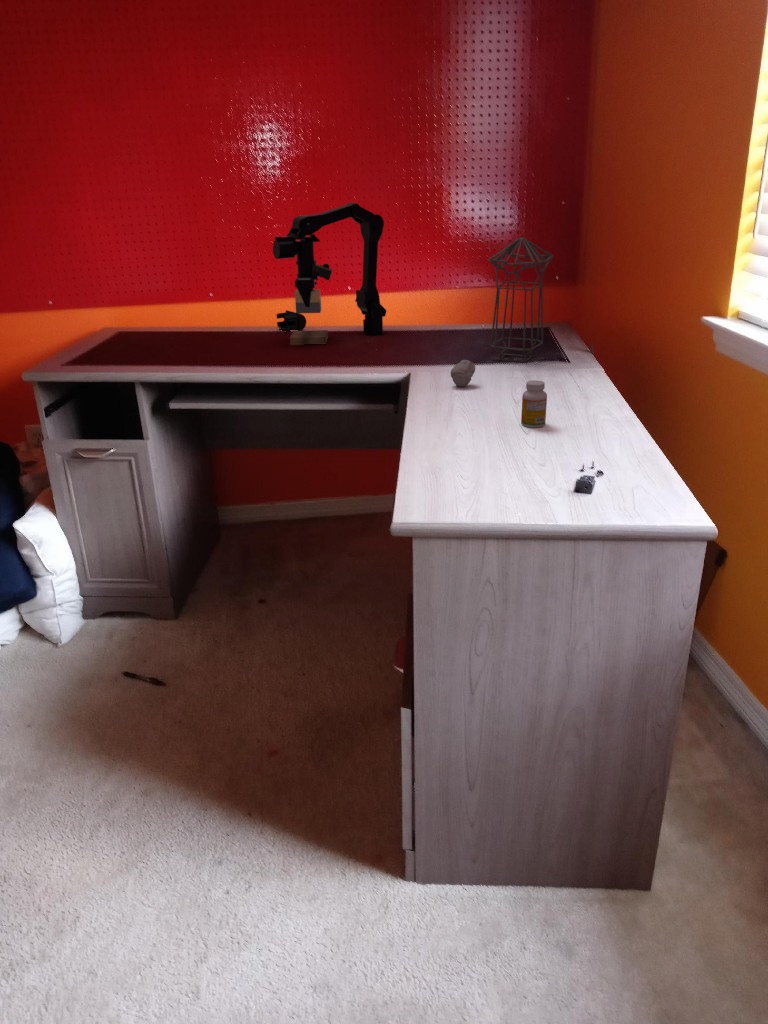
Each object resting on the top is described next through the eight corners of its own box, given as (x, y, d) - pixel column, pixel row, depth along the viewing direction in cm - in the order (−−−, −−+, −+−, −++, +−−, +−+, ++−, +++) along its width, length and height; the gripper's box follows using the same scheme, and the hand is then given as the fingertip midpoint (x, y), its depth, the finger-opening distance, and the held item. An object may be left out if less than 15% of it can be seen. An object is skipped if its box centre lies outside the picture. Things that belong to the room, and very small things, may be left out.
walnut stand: (328, 337, 274) (327, 330, 273) (325, 344, 263) (325, 337, 262) (293, 338, 274) (293, 331, 273) (290, 345, 263) (289, 337, 262)
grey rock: (479, 386, 209) (480, 360, 206) (458, 390, 206) (458, 364, 203) (466, 382, 213) (467, 356, 211) (445, 385, 210) (445, 359, 208)
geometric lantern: (548, 356, 241) (556, 235, 226) (531, 368, 228) (539, 241, 213) (499, 351, 247) (504, 233, 232) (481, 362, 235) (485, 239, 220)
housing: (297, 310, 266) (296, 289, 263) (321, 310, 266) (320, 289, 263) (296, 313, 262) (294, 291, 259) (320, 312, 262) (319, 291, 259)
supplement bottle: (524, 420, 181) (526, 378, 177) (547, 422, 179) (550, 380, 175) (518, 427, 176) (520, 384, 172) (542, 429, 174) (545, 386, 170)
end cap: (307, 331, 285) (306, 312, 282) (289, 334, 281) (288, 315, 278) (294, 327, 292) (292, 309, 290) (277, 330, 289) (275, 311, 286)
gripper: (328, 259, 248) (330, 309, 254) (331, 253, 265) (334, 300, 272) (293, 260, 248) (296, 310, 255) (299, 254, 265) (301, 301, 272)
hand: (308, 305), depth 263 cm, fingers closed on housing, 5 cm apart
